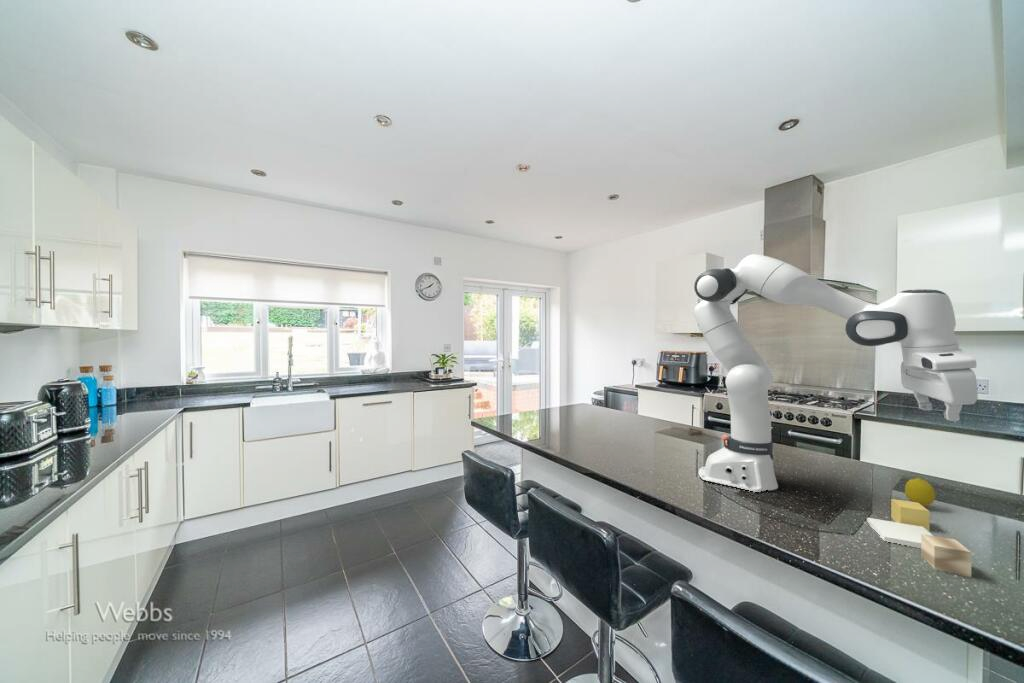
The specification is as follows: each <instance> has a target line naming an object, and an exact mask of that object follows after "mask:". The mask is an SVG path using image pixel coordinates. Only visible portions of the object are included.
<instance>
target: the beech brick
mask: <svg viewBox="0 0 1024 683" xmlns="http://www.w3.org/2000/svg"><path fill="white" fill-rule="evenodd" d="M920 550H921V552H920V553H921V554H920V555H921V556H922V557H921V558H922V559H923V558H924V559H923V560H924V561H925V560H926V561H927V562H928V563H929V564H930V565H931V566H932V567H933V568H934V569H935V570H934V569H933V568H932V567H931V566H930V565H929V564H928V563H927V562H926V561H925V562H926V563H927V564H928V565H929V566H930V567H931V568H932V569H933V570H934V571H937V570H940V571H939V572H942V571H947V572H951V573H950V574H952V573H955V574H954V575H957V574H959V575H958V576H963V577H967V578H972V551H970V550H969V549H968V548H966V547H965V546H964V545H963V544H961V543H960V541H957V540H956V539H953V538H949V537H942V536H936V535H933V536H931V535H925V534H921V549H920ZM947 572H946V573H947Z"/></svg>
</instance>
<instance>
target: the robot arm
mask: <svg viewBox="0 0 1024 683" xmlns="http://www.w3.org/2000/svg"><path fill="white" fill-rule="evenodd" d="M693 288H694V292H695V294H696V296H697V297H698V298H700V300H701V301H699V303H697V304H696V306H695V307H694V310H693V313H694V317H695V318H694V319H695V320H696V324H697V325H698V328H699V330H700V332H701V334H702V336H703V337H704V339H705V342H706V343H707V345H708V346H709V349H711V352H712V353H713V355H714V356H715V358H716V359H718V361H719V362H720V363H721V365H722V366H723V367H724V368H725V370H726V371H727V374H726V376H725V382H724V383H725V387H726V392H727V400H728V405H729V410H730V411H729V412H730V435H729V436H728V435H727V434H723V435H722V437H721V439H722V441H723V447H721V448H719V449H718V450H716V451H714V452H713V453H710V454H709V455H708V456H707V457H706V458H707V459H706V461H705V465H704V466H702V467H700V468H699V469H698V472H697V474H699V476H700V477H701V478H702V479H703V480H706V481H711V482H715V483H720V484H724V485H728V486H733V487H737V488H741V489H745V490H749V491H748V492H750V491H753V492H752V493H755V492H759V493H761V491H762V492H765V491H766V490H768V491H774V490H777V489H778V488H779V485H778V481H777V478H776V474H775V470H774V465H773V464H774V462H773V459H774V458H775V457H774V453H775V452H774V442H773V441H772V415H771V411H770V402H769V390H770V389H771V387H772V386H773V384H774V376H773V373H772V372H771V370H770V369H769V367H768V365H767V364H766V363H765V361H764V359H763V358H762V357H761V355H760V354H759V353H758V352H757V349H755V347H754V346H753V345H752V344H751V342H750V340H749V338H748V337H747V336H746V334H745V333H744V331H743V329H742V328H741V326H740V325H739V322H738V321H737V319H736V318H735V316H734V315H733V312H732V311H731V308H730V307H731V305H735V304H737V302H738V301H739V300H740V299H741V298H742V297H744V295H746V293H747V292H748V291H749V290H750V291H752V292H754V293H756V294H758V295H759V296H762V297H764V298H766V299H768V300H770V301H773V302H775V303H779V304H782V305H786V306H788V305H789V306H809V307H815V308H819V309H822V310H824V311H827V312H829V313H831V314H833V315H836V316H838V317H841V318H843V319H844V320H847V322H846V323H845V328H844V329H845V333H846V336H847V337H848V338H849V339H850V340H851V341H852V342H854V343H855V344H857V345H860V346H864V347H879V346H880V347H881V346H883V345H886V344H892V343H900V346H901V352H902V353H901V355H902V362H901V364H900V380H901V381H900V382H901V385H902V387H903V388H904V389H906V390H908V391H912V392H913V396H914V398H915V400H916V401H917V405H918V408H919V410H922V411H924V412H926V411H932V410H933V404H932V402H930V399H929V398H932V399H935V400H938V401H941V402H943V403H944V406H945V408H946V409H945V411H943V416H944V417H943V418H944V420H947V421H950V422H959V421H960V419H961V418H960V413H961V410H962V408H963V405H964V406H966V405H975V404H976V402H977V400H978V397H979V395H978V384H977V382H978V381H977V376H976V373H975V371H974V370H973V369H976V368H977V361H976V358H975V357H973V356H971V355H969V354H968V353H966V352H965V351H964V350H963V349H962V348H960V346H959V340H958V338H957V337H956V334H955V328H956V325H957V324H956V323H957V321H956V316H955V315H956V314H955V311H954V306H953V304H952V301H951V299H950V297H949V295H948V294H947V293H946V292H945V291H941V290H938V289H928V288H927V289H923V288H922V289H907V290H902V291H899V292H898V293H896V295H894V296H892V297H890V298H888V299H886V300H885V301H883V302H881V303H876V302H872V301H871V302H870V301H868V300H867V301H866V299H865V300H864V299H863V298H860V297H857V296H854V295H852V294H850V293H847V292H844V291H842V290H839V289H838V288H835V287H833V286H830V285H828V284H827V283H825V282H823V281H821V280H820V279H818V278H816V277H814V276H812V275H810V274H809V273H808V272H805V270H804V271H803V270H802V269H800V268H798V267H796V266H794V265H792V264H790V263H787V262H786V261H783V260H781V259H777V258H774V257H772V256H767V255H763V254H759V253H753V254H752V253H751V254H749V255H747V256H745V257H744V258H742V260H740V261H739V263H738V264H737V266H736V267H720V268H713V269H708V270H706V271H703V272H702V273H701V274H699V275H698V276H697V278H696V279H695V281H694V287H693ZM699 476H698V477H699ZM745 490H744V491H745Z"/></svg>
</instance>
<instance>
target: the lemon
mask: <svg viewBox="0 0 1024 683" xmlns="http://www.w3.org/2000/svg"><path fill="white" fill-rule="evenodd" d="M904 493H905V496H906V498H907V499H908V501H910V502H917V503H919V504H921V505H922V506H923V507H925V506H926V507H927V506H930V505H932V504H933V503H934V502H935V499H936V491H935V489H934V488H933V486H932V484H931V483H929V482H928V481H927V480H924V479H922V478H921V477H917V478H911V479H909V480H908V481H907V482H906V483H905V486H904Z"/></svg>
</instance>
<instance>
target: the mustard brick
mask: <svg viewBox="0 0 1024 683" xmlns="http://www.w3.org/2000/svg"><path fill="white" fill-rule="evenodd" d="M890 504H891V505H890V507H891V510H890V512H891V514H890V515H891V517H892V518H893V519H894V520H895V521H894V520H893V519H892V518H891V519H892V520H893V521H894V522H897V523H903V524H910V525H916V526H922V527H924V528H925V529H926V530H927V531H928V532H931V531H930V510H929V509H927V508H926V507H925V506H922V505H921V504H919V503H917V502H912V501H910V500H902V499H895V498H891V499H890Z"/></svg>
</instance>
